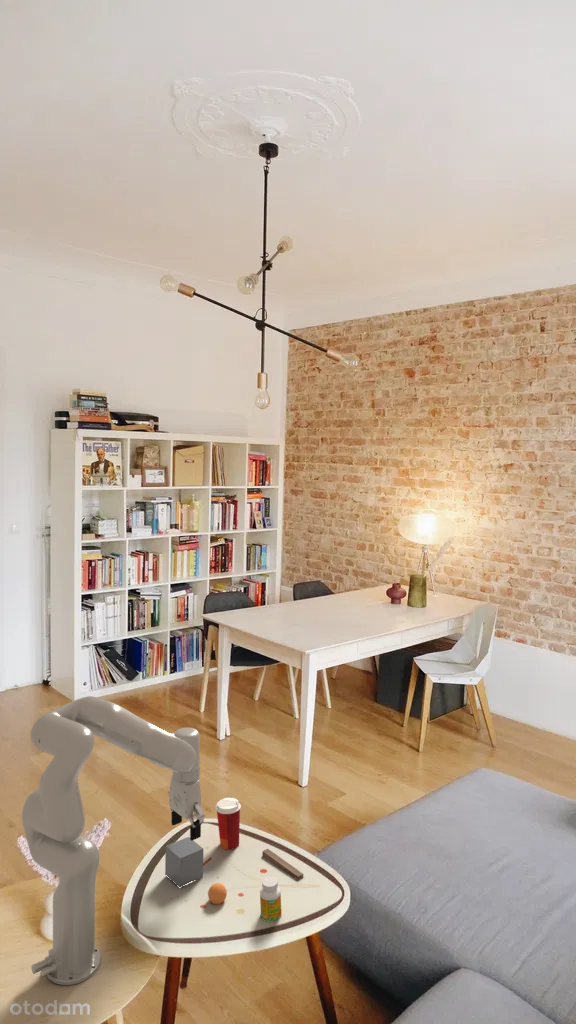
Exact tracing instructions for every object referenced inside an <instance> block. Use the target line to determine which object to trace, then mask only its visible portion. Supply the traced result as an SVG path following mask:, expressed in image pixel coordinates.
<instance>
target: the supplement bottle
mask: <svg viewBox="0 0 576 1024" xmlns="http://www.w3.org/2000/svg"><path fill="white" fill-rule="evenodd" d="M261 883H262V885H261V886H262V888H261V889H260V891H259V898H260V899H259V901H260V902H259V903H260V918H261V919H262V920H263V921H266V922H275V921H277V920H279V919H280V918H281V917H282V896H281V895H282V894H281V893H282V892H281V889H280V887H279V885H278V880H277V878H276V877H271V876H269V877H265V878H263V880H262V882H261Z"/></svg>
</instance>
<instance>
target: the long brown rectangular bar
mask: <svg viewBox="0 0 576 1024" xmlns="http://www.w3.org/2000/svg"><path fill="white" fill-rule="evenodd" d="M261 854H262V855H261V856H263V857H264V859H267V860H268V861H269V862H271V863H273V864H274V865H275V866H276V867H278V868H279V869H280V870H282V871H284V872H286V873H287V874H289V875H290V876H292V877H293V878H294V879H296V880H297V881H299V880H302V878H304V873H303V872H301V871H300V870H298V868H295V866H293V865H291V864H290V863H289V862H288V861H286V860H284V859H283V858H282V857H280V856H279V855H277V854H276V853H275V852H273V851H272V850H270V849H269V848H266V849H263V850H262V853H261Z"/></svg>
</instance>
